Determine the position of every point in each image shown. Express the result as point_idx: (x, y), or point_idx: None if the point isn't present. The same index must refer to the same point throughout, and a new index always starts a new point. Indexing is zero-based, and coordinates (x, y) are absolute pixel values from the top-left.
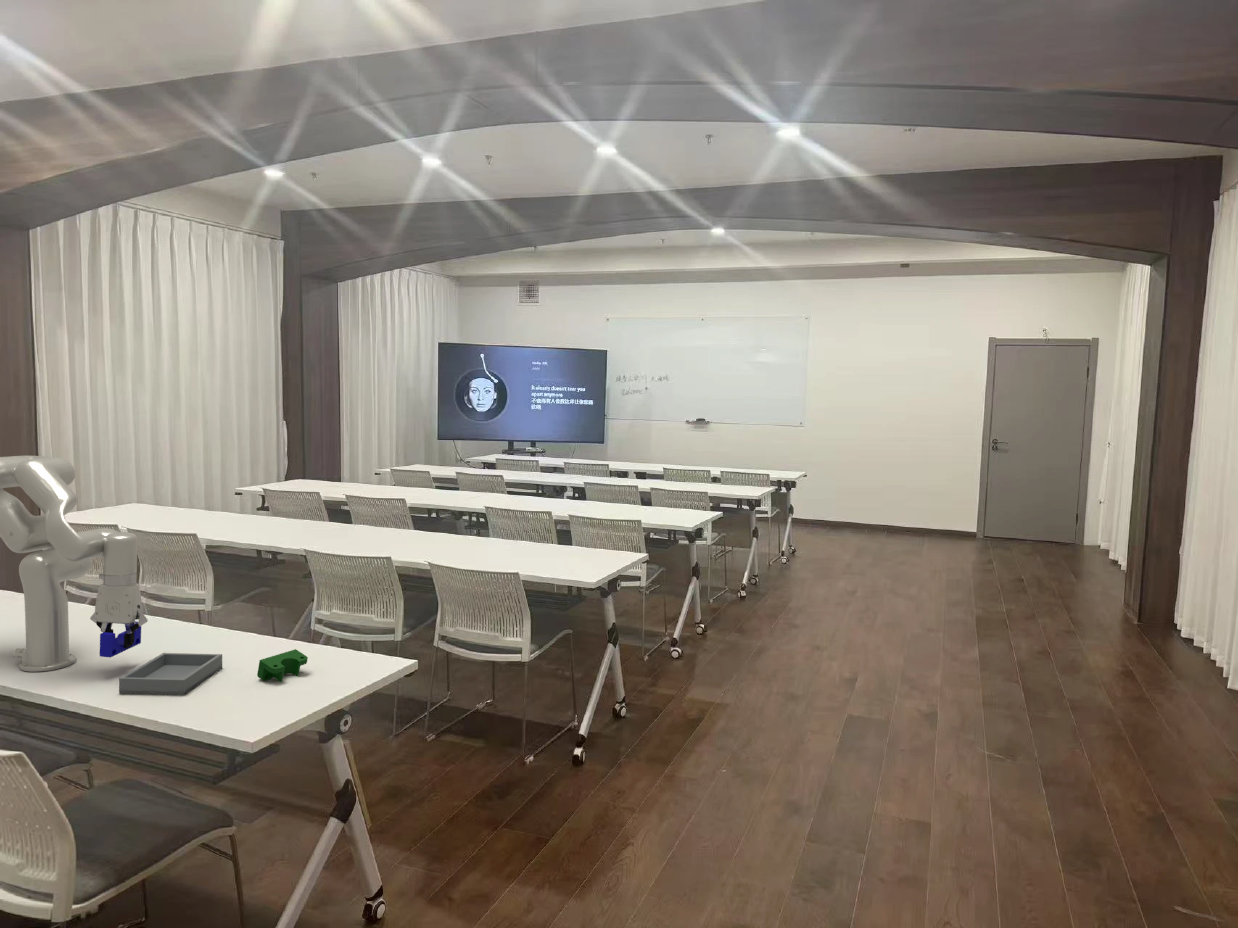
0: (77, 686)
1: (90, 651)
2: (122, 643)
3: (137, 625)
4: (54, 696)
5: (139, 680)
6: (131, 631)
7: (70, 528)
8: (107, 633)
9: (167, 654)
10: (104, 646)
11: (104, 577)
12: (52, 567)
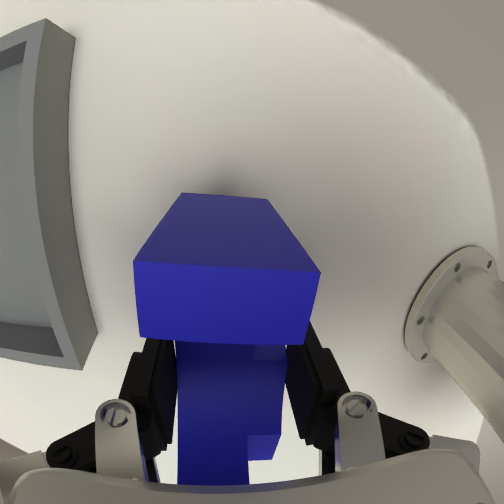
0: (295, 97)
1: (388, 396)
2: (210, 367)
3: (47, 455)
4: (314, 3)
5: None
6: (100, 418)
7: None
8: (230, 311)
9: (55, 355)
10: (234, 215)
11: None
12: None
